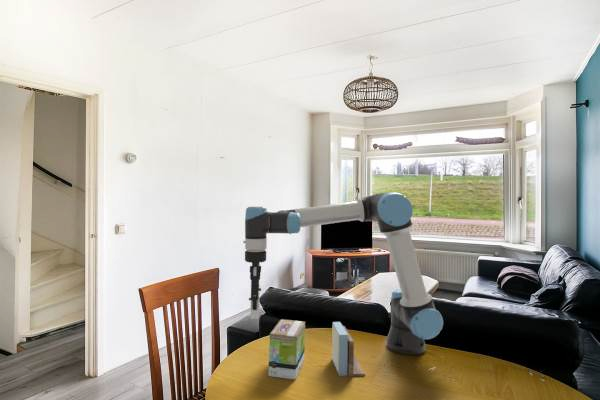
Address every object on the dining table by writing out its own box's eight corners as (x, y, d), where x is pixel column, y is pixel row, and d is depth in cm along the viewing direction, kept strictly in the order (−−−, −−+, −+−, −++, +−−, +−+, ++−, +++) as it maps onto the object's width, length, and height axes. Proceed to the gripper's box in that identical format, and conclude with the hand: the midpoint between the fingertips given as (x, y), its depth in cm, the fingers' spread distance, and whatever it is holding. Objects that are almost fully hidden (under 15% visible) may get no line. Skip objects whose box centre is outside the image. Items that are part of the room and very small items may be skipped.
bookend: (354, 356, 130) (354, 325, 130) (364, 375, 116) (365, 340, 116) (340, 357, 130) (340, 325, 130) (349, 376, 116) (349, 341, 116)
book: (339, 358, 129) (340, 321, 129) (347, 375, 117) (347, 334, 117) (331, 359, 129) (332, 322, 128) (338, 375, 117) (338, 334, 116)
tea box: (296, 380, 113) (297, 336, 113) (267, 377, 115) (268, 333, 115) (305, 359, 128) (305, 320, 128) (279, 356, 130) (279, 318, 130)
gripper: (246, 245, 131) (246, 304, 131) (242, 255, 109) (242, 325, 110) (266, 245, 131) (265, 304, 132) (266, 255, 110) (265, 324, 110)
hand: (255, 313), depth 121 cm, fingers open, 9 cm apart
